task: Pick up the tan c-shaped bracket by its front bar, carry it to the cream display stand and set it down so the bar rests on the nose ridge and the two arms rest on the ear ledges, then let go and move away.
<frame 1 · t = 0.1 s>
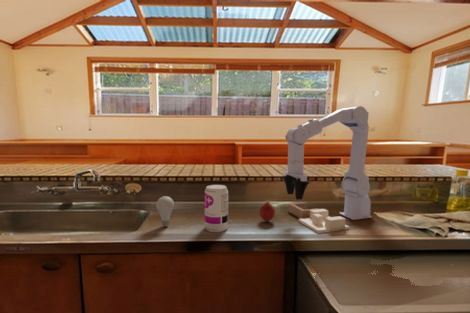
hand: (294, 196, 96), 10 cm above the counter, tool pointing down, fingers open, 7 cm apart
lightbulb: (165, 226, 92), on the counter
supplement can: (216, 229, 90), on the counter
tan c-shaped bracket: (296, 215, 105), on the counter
onion: (266, 222, 97), on the counter
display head: (317, 225, 94), on the counter
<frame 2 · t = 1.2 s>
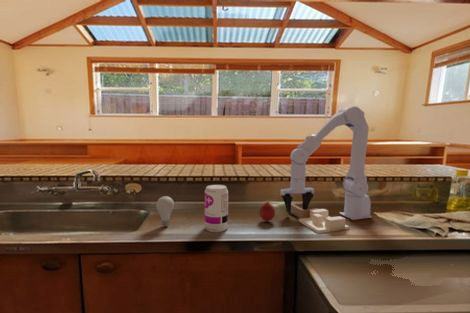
hand: (296, 211, 105), 2 cm above the counter, tool pointing down, fingers open, 7 cm apart
nothing on the counter moved.
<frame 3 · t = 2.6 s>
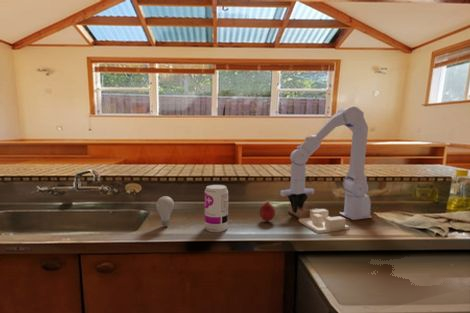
hand: (296, 211, 105), 1 cm above the counter, tool pointing down, fingers closed on tan c-shaped bracket, 2 cm apart
tan c-shaped bracket: (296, 215, 105), on the counter, touching gripper
everything else where it was.
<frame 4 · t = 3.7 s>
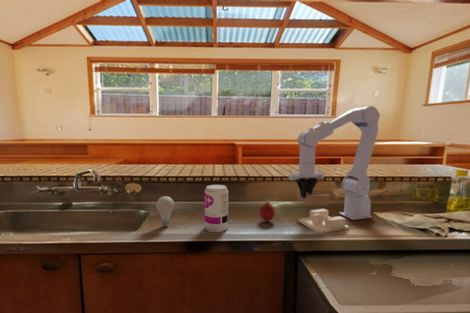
hand: (305, 197, 99), 9 cm above the counter, tool pointing down, fingers closed on tan c-shaped bracket
tan c-shaped bracket: (305, 201, 100), point 7 cm above the counter, touching gripper
everything else where it was.
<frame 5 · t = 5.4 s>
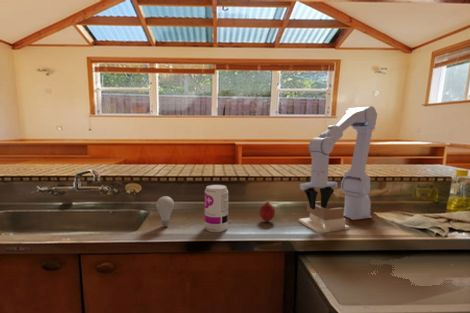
hand: (317, 207, 93), 7 cm above the counter, tool pointing down, fingers open, 4 cm apart
tan c-shaped bracket: (317, 215, 93), point 4 cm above the counter, touching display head
everything else where it was.
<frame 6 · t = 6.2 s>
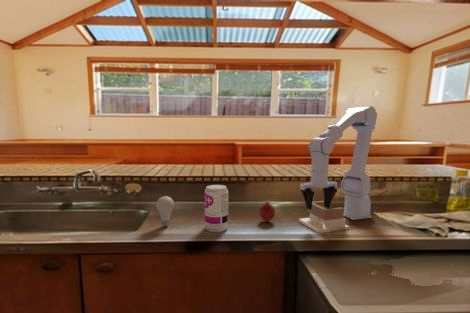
hand: (318, 207, 93), 7 cm above the counter, tool pointing down, fingers open, 7 cm apart
nothing on the counter moved.
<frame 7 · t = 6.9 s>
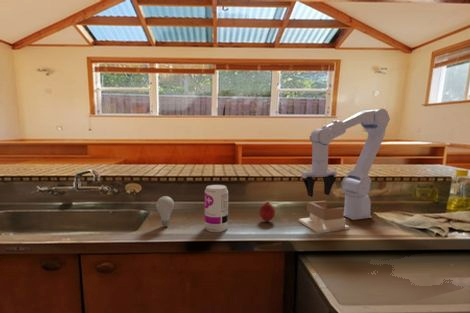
hand: (318, 195, 99), 10 cm above the counter, tool pointing down, fingers open, 7 cm apart
nothing on the counter moved.
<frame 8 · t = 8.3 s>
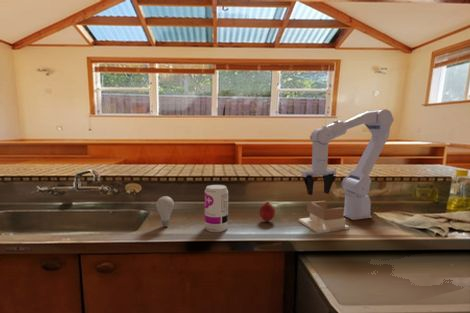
hand: (318, 193, 101), 10 cm above the counter, tool pointing down, fingers open, 7 cm apart
nothing on the counter moved.
at the end: tan c-shaped bracket 0.2 cm off-centre on the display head, point 4.0 cm above the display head's base; tan c-shaped bracket tilted 0°; the gripper is holding nothing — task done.
